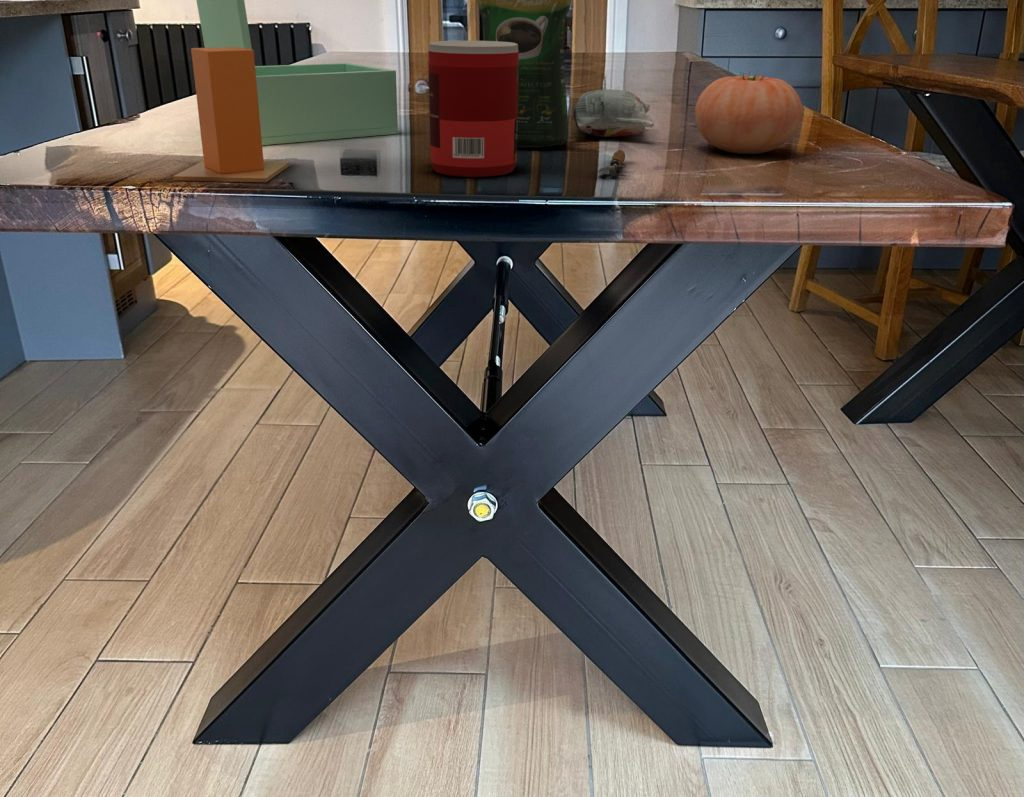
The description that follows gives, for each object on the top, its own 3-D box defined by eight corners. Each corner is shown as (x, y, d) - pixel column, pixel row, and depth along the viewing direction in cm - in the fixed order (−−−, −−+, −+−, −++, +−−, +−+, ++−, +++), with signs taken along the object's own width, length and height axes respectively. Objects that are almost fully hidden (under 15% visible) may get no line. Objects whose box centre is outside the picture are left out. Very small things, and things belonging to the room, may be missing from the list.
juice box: (220, 174, 82) (207, 51, 78) (204, 166, 85) (190, 48, 81) (264, 169, 84) (253, 49, 80) (247, 162, 87) (236, 46, 83)
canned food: (533, 172, 87) (536, 44, 83) (461, 181, 83) (460, 46, 78) (484, 160, 93) (484, 39, 89) (414, 167, 88) (411, 41, 84)
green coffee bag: (570, 140, 105) (577, -46, 98) (564, 151, 98) (571, -48, 91) (483, 137, 106) (483, -47, 99) (471, 148, 99) (471, -49, 92)
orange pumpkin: (819, 156, 98) (831, 74, 95) (739, 163, 93) (748, 78, 90) (747, 141, 107) (756, 65, 103) (670, 147, 102) (676, 68, 98)
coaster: (173, 180, 81) (173, 175, 81) (204, 164, 89) (204, 159, 89) (266, 182, 81) (266, 177, 81) (289, 166, 89) (289, 161, 88)
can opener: (614, 160, 93) (614, 148, 92) (638, 162, 92) (638, 150, 92) (594, 177, 85) (595, 164, 84) (620, 179, 84) (621, 166, 84)
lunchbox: (350, 121, 116) (347, 62, 114) (398, 133, 108) (396, 70, 105) (218, 131, 107) (211, 67, 105) (258, 145, 99) (252, 76, 96)
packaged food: (648, 128, 114) (650, 85, 112) (651, 144, 104) (654, 96, 102) (575, 127, 115) (576, 84, 113) (571, 142, 104) (572, 95, 102)
